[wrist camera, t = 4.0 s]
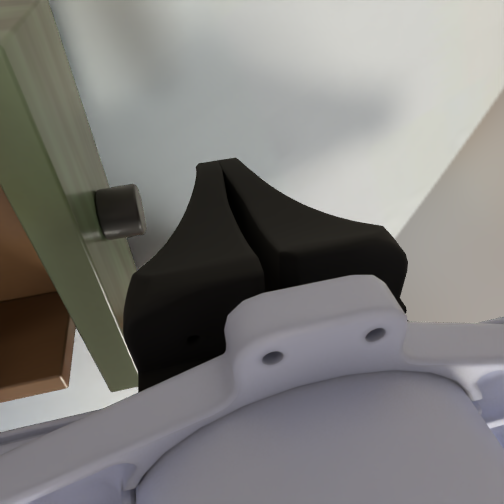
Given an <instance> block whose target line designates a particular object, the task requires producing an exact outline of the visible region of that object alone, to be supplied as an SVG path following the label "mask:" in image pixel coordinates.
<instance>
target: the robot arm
mask: <svg viewBox="0 0 504 504" xmlns="http://www.w3.org/2000/svg"><path fill="white" fill-rule="evenodd" d="M196 171H197V172H196V181H195V185H194V189H193V192H192V196H191V199H190V201H189V204H188V206H187V209H186V211H185V213H184V216H183V218H182V219H181V221H180V223H179V225H178V227H177V228H176V230H175V231H174V233H173V234H172V236H171V237H170V239H169V240H168V241H167V243H166V244H165V245H164V246H163V247H162V248H161V250H160V251H159V252H158V253H157V254H156V255H155V256H154V257H153V258H152V259H151V260H150V261H148V262H147V263H146V264H145V265H144V266H142V267H141V268H140V269H139V270H138V271H136V272H135V273H133V275H132V277H131V280H130V283H129V287H128V291H127V295H126V299H125V305H124V312H123V334H124V339H125V343H126V345H127V348H128V350H129V352H130V355H131V357H132V359H133V362H134V364H135V367H136V369H137V371H138V393H136V394H134V395H132V396H130V397H128V398H125V399H123V400H121V401H119V402H117V403H114V404H112V405H110V406H108V407H105V408H103V409H100V410H95V411H91V412H87V413H82V414H78V415H74V416H69V417H65V418H61V419H56V420H52V421H48V422H43V423H39V424H34V425H30V426H26V427H21V428H17V429H13V430H8V431H4V432H0V504H504V317H500V318H496V319H492V320H487V321H483V322H479V323H444V322H412V321H411V322H410V321H408V320H407V316H406V311H407V310H406V307H405V305H404V304H403V302H402V301H401V299H400V295H401V291H402V287H403V284H404V280H405V277H406V273H407V266H408V261H407V258H406V254H405V252H404V251H403V250H402V249H401V247H400V246H399V245H398V243H397V242H396V240H395V239H394V238H393V237H392V236H391V234H390V233H389V232H388V231H387V230H386V229H385V228H384V227H383V226H379V225H373V224H367V223H361V222H356V221H351V220H347V219H343V218H340V217H336V216H333V215H329V214H326V213H324V212H321V211H318V210H316V209H313V208H310V207H308V206H306V205H303V204H301V203H299V202H297V201H295V200H293V199H291V198H290V197H288V196H286V195H284V194H283V193H281V192H279V191H278V190H276V189H275V188H273V187H272V186H270V185H269V184H267V183H266V182H265V181H263V180H262V179H261V178H259V177H258V176H257V175H256V174H255V173H253V172H252V171H251V170H250V169H249V168H247V167H246V166H245V165H244V164H243V163H242V162H241V161H239V160H238V159H237V158H231V159H224V160H218V161H211V162H205V163H199V164H198V165H197V166H196Z"/></svg>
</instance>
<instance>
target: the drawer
mask: <svg viewBox="0 0 504 504" xmlns="http://www.w3.org/2000/svg"><path fill="white" fill-rule="evenodd" d="M145 233H146V221H145V214H144V209H143V204H142V200H141V196H140V193H139V190H138V188H137V186H136V185H135V184H129V185H123V186H117V187H111V188H110V187H109V184H108V181H107V178H106V175H105V172H104V169H103V166H102V162H101V159H100V156H99V153H98V150H97V147H96V144H95V141H94V138H93V135H92V132H91V129H90V126H89V123H88V120H87V117H86V114H85V111H84V108H83V105H82V102H81V99H80V96H79V93H78V90H77V87H76V84H75V81H74V77H73V74H72V71H71V68H70V65H69V62H68V59H67V56H66V53H65V50H64V47H63V44H62V41H61V38H60V35H59V32H58V29H57V26H56V23H55V20H54V17H53V14H52V11H51V8H50V5H49V2H48V0H0V403H2V402H6V401H11V400H15V399H20V398H25V397H29V396H34V395H38V394H43V393H47V392H52V391H56V390H61V389H65V388H68V386H69V379H70V371H71V362H72V354H73V345H74V337H75V329H76V328H77V330H78V332H79V333H80V335H81V337H82V339H83V341H84V343H85V345H86V347H87V348H88V350H89V352H90V354H91V356H92V358H93V360H94V362H95V363H96V365H97V367H98V369H99V371H100V373H101V375H102V377H103V378H104V380H105V382H106V384H107V386H108V388H109V390H110V392H115V391H120V390H124V389H129V388H133V387H138V371H137V369H136V367H135V364H134V362H133V359H132V357H131V355H130V352H129V350H128V348H127V345H126V343H125V339H124V334H123V312H124V305H125V299H126V295H127V291H128V287H129V283H130V280H131V277H132V275H133V273H135V272H136V271H137V269H136V266H135V263H134V260H133V257H132V254H131V251H130V247H129V244H128V241H127V238H126V237H132V236H137V235H143V234H145Z"/></svg>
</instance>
